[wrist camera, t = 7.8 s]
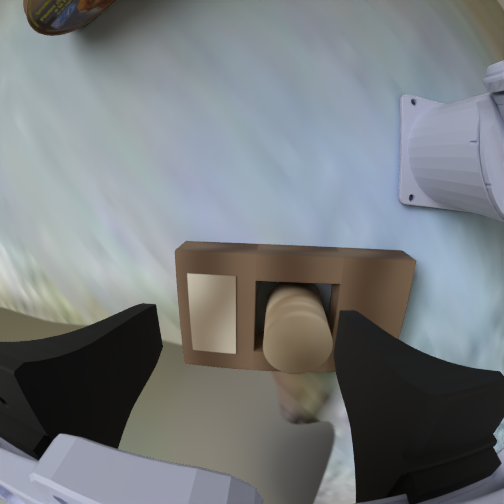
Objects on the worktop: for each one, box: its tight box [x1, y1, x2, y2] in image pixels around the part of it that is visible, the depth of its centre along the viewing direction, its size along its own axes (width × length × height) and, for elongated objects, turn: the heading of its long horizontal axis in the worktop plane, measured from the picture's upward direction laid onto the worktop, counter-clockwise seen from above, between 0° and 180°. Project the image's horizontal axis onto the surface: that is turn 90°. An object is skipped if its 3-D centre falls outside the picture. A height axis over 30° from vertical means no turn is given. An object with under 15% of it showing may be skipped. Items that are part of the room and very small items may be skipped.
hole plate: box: [175, 241, 416, 372], centre depth 21 cm, size 16×9×3 cm, turn 89°
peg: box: [263, 282, 333, 374], centre depth 19 cm, size 4×4×6 cm
